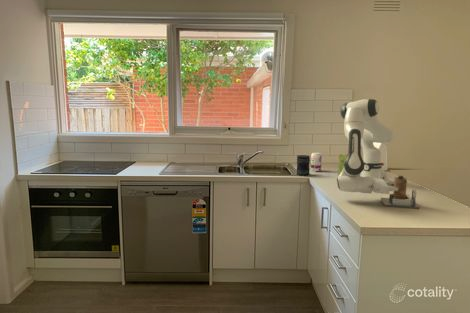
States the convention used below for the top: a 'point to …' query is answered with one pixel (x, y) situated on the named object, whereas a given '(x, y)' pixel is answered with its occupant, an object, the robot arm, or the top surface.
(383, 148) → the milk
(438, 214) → the top surface
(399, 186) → the walnut toggle block
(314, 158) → the supplement can
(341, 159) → the protein box
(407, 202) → the keeper bracket
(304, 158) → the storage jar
